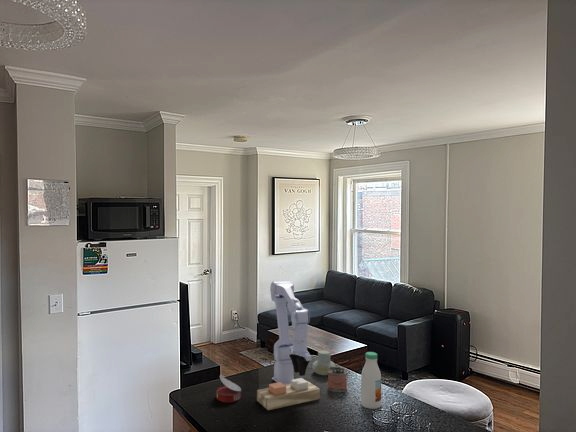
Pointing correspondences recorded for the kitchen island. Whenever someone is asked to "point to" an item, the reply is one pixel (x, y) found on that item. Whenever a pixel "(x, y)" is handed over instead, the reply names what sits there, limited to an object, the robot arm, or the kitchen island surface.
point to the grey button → (299, 384)
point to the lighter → (337, 379)
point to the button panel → (287, 396)
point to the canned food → (228, 391)
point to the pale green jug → (323, 363)
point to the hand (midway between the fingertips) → (299, 373)
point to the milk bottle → (371, 382)
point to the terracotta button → (277, 388)
